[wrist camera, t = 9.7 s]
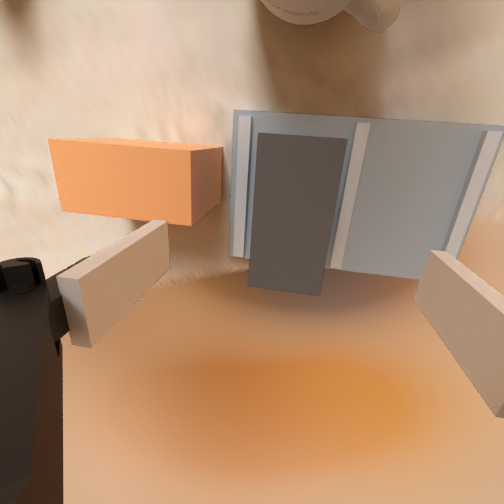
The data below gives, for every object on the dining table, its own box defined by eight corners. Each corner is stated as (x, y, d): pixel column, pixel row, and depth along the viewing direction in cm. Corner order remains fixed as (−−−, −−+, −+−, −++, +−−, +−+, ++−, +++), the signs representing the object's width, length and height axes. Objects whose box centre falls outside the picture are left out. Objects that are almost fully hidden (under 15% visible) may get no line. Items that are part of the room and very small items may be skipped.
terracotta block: (125, 191, 34) (61, 211, 25) (119, 138, 32) (47, 138, 23) (221, 201, 33) (191, 226, 24) (222, 146, 31) (190, 150, 21)
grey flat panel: (235, 110, 29) (232, 109, 27) (500, 126, 26) (514, 125, 24) (230, 253, 35) (227, 259, 34) (444, 279, 32) (451, 286, 31)
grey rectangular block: (270, 134, 28) (257, 132, 19) (331, 138, 28) (347, 138, 19) (261, 244, 33) (247, 286, 24) (313, 250, 32) (319, 295, 23)
